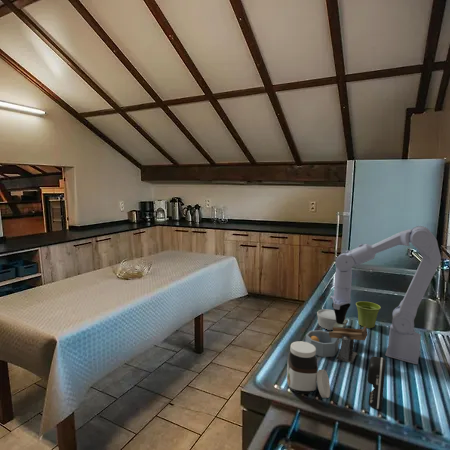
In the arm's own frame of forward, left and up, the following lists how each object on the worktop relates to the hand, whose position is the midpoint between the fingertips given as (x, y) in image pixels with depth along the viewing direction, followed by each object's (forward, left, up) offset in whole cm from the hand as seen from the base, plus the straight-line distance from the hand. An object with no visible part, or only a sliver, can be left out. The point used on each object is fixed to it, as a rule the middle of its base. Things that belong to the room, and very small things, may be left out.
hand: (339, 322), depth 118 cm
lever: (-5, +4, 0) cm, 6 cm away
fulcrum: (-5, +10, -7) cm, 13 cm away
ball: (+6, +10, -5) cm, 13 cm away
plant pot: (-6, -22, -7) cm, 24 cm away
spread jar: (-1, +35, -7) cm, 36 cm away
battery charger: (-17, +30, -7) cm, 35 cm away
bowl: (+3, +10, -7) cm, 13 cm away
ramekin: (+6, -12, -7) cm, 15 cm away
